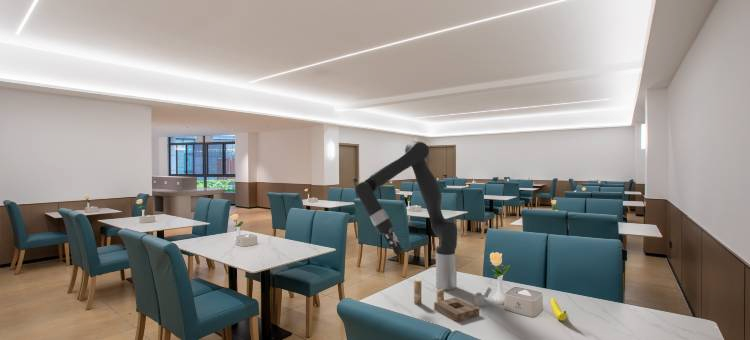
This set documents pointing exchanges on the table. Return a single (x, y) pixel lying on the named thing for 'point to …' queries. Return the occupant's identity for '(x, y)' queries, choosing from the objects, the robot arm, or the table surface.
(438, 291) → the short pin
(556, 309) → the banana
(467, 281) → the table surface
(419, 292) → the long pin
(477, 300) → the lighter
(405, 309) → the table surface
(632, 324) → the table surface
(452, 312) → the hole plate
